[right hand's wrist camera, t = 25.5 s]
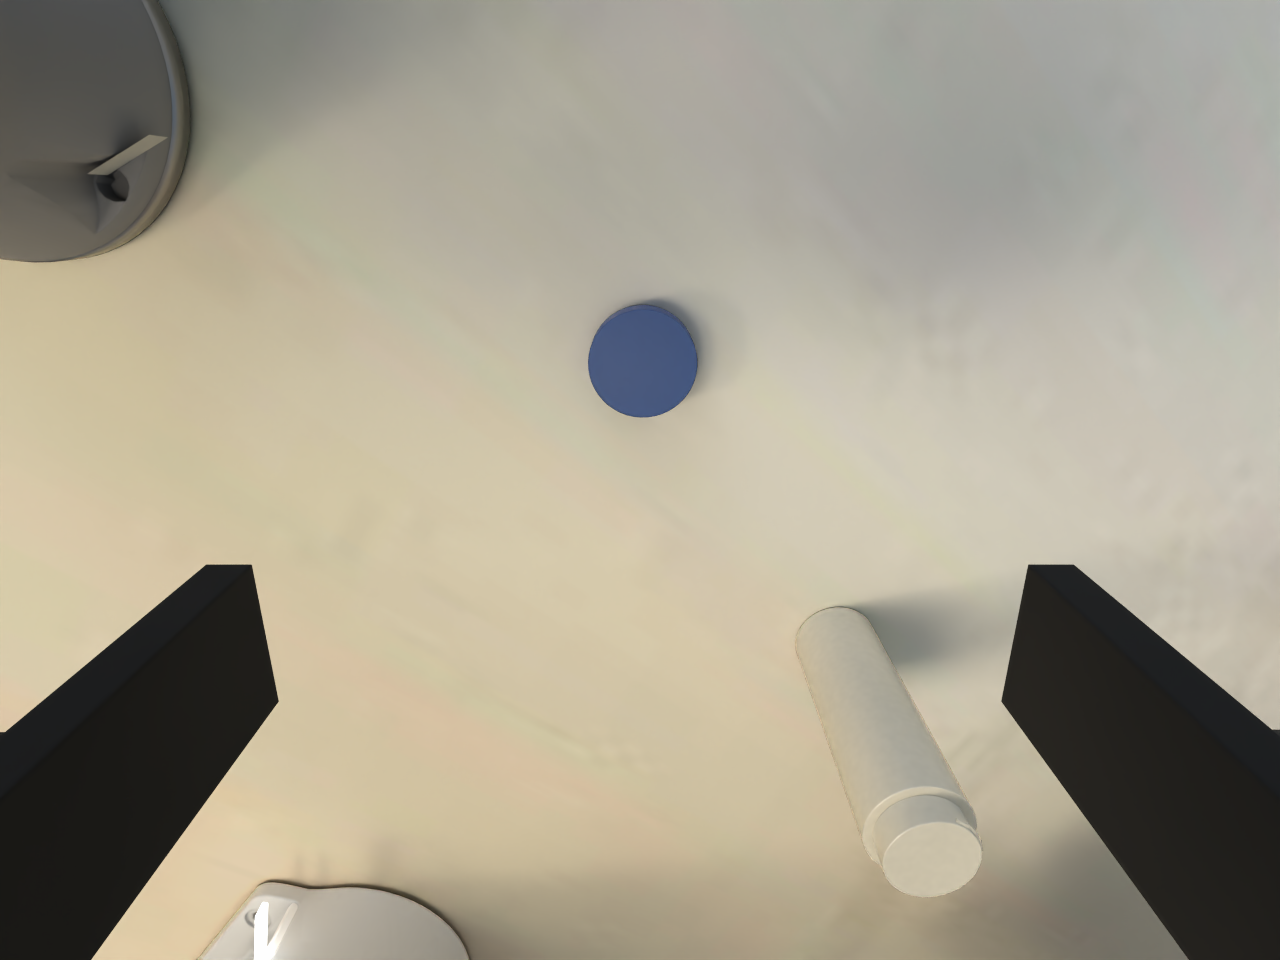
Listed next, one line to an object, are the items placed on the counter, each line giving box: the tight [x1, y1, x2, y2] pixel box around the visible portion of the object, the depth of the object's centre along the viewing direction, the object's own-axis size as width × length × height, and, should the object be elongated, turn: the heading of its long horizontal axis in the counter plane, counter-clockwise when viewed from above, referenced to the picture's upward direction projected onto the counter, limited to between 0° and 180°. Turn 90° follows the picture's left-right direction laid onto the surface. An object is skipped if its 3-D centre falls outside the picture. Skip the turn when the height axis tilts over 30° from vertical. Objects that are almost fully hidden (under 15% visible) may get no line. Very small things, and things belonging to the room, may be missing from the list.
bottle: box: [795, 607, 983, 897], centre depth 36 cm, size 4×4×15 cm
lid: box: [588, 305, 697, 417], centre depth 37 cm, size 5×5×2 cm
